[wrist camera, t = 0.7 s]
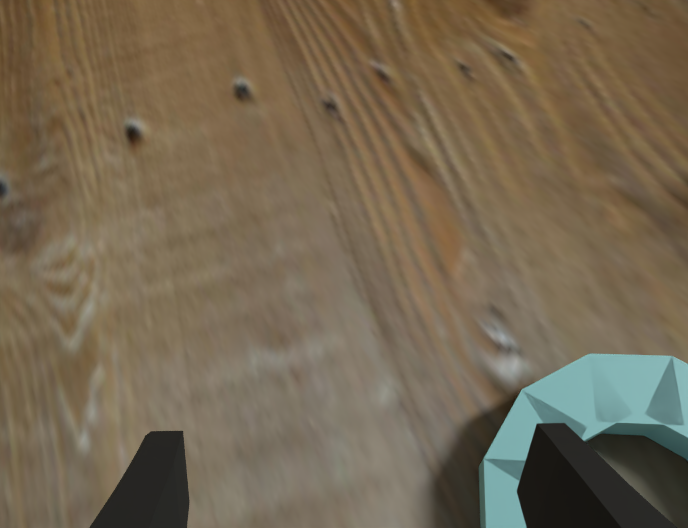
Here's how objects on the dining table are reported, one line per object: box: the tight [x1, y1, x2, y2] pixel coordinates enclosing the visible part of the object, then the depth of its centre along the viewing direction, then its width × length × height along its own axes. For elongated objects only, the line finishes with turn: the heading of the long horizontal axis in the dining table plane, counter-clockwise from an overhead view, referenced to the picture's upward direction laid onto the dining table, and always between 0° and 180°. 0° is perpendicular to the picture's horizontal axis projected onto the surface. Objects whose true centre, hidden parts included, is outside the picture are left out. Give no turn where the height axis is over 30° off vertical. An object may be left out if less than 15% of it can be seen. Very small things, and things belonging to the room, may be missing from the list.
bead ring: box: [479, 354, 688, 528], centre depth 25 cm, size 13×13×2 cm
